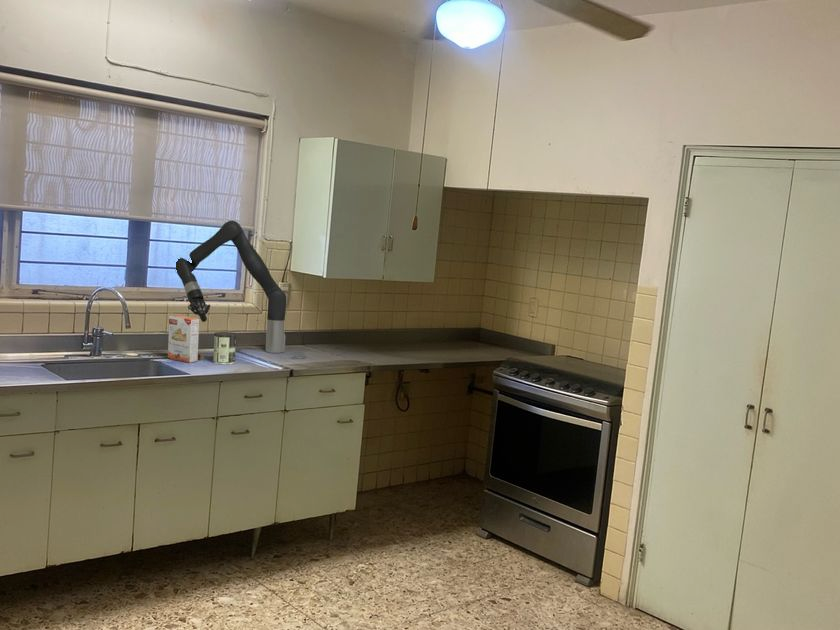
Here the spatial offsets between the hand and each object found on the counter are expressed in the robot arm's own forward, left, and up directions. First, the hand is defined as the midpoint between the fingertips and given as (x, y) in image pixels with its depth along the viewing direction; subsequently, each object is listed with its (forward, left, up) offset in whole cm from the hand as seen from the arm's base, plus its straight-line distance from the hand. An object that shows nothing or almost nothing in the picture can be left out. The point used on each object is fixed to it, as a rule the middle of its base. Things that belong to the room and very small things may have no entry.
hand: (204, 321), depth 398 cm
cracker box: (+18, +15, -17) cm, 29 cm away
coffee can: (+2, +26, -17) cm, 31 cm away
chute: (+2, +12, -16) cm, 21 cm away
